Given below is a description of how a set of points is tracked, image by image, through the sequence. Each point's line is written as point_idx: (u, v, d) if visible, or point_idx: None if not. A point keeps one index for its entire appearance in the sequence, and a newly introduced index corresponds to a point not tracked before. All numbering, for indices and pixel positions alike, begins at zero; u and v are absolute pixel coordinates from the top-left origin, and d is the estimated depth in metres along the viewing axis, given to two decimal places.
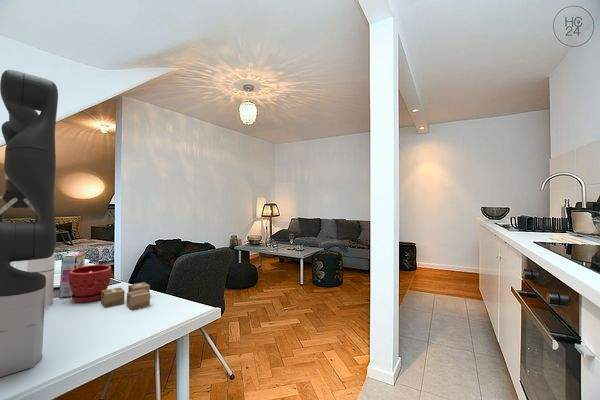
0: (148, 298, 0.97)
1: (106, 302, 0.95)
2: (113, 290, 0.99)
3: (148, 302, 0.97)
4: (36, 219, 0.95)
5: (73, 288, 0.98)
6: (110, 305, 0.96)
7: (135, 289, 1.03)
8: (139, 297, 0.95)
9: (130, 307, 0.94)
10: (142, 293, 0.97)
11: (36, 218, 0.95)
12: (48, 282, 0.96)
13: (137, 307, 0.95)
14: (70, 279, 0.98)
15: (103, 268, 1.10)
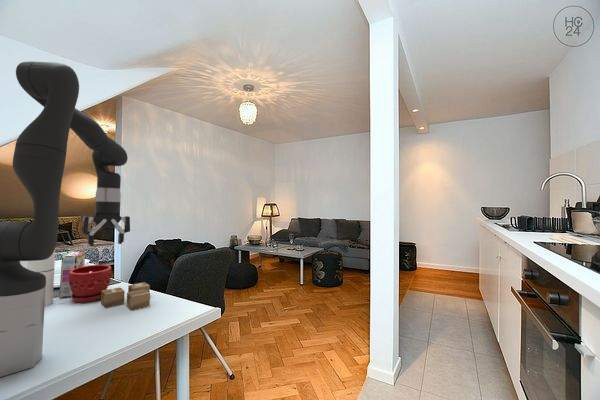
0: (148, 298, 0.97)
1: (106, 302, 0.95)
2: (113, 290, 0.99)
3: (148, 302, 0.97)
4: (120, 238, 0.99)
5: (73, 288, 0.98)
6: (110, 305, 0.96)
7: (135, 289, 1.03)
8: (139, 297, 0.95)
9: (130, 307, 0.94)
10: (142, 293, 0.97)
11: (120, 237, 0.99)
12: (48, 282, 0.96)
13: (137, 307, 0.95)
14: (70, 279, 0.98)
15: (103, 268, 1.10)
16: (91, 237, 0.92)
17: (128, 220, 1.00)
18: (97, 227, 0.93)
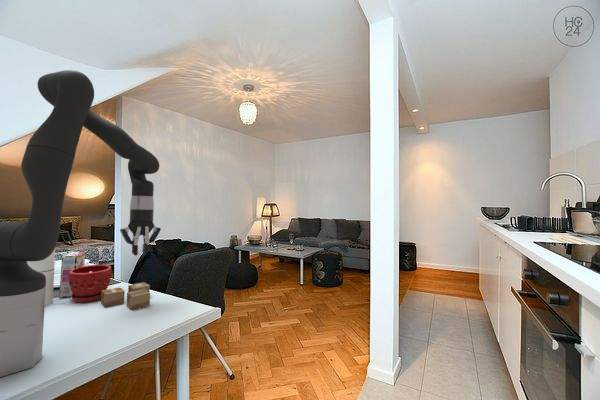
0: (148, 298, 0.97)
1: (106, 302, 0.95)
2: (113, 290, 0.99)
3: (148, 302, 0.97)
4: (145, 249, 0.98)
5: (73, 288, 0.98)
6: (110, 305, 0.96)
7: (135, 289, 1.03)
8: (139, 297, 0.95)
9: (130, 307, 0.94)
10: (142, 293, 0.97)
11: (145, 248, 0.98)
12: (48, 282, 0.96)
13: (137, 307, 0.95)
14: (70, 279, 0.98)
15: (103, 268, 1.10)
16: (135, 247, 0.96)
17: (158, 231, 1.01)
18: (137, 236, 0.96)
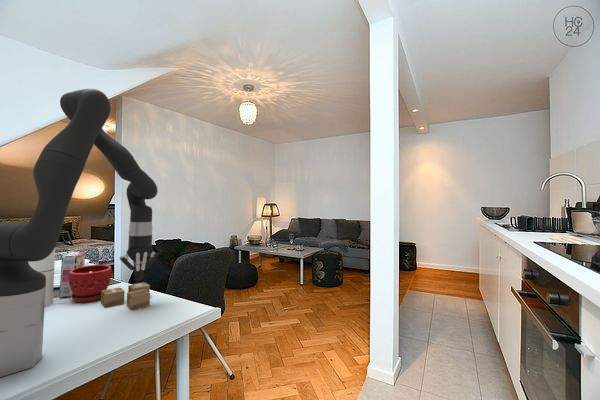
0: (148, 298, 0.97)
1: (106, 302, 0.95)
2: (113, 290, 0.99)
3: (148, 302, 0.97)
4: (141, 275, 0.97)
5: (73, 288, 0.98)
6: (110, 305, 0.96)
7: (135, 289, 1.03)
8: (139, 297, 0.95)
9: (130, 307, 0.94)
10: (142, 293, 0.97)
11: (141, 274, 0.97)
12: (48, 282, 0.96)
13: (137, 307, 0.95)
14: (70, 279, 0.98)
15: (103, 268, 1.10)
16: (137, 272, 0.97)
17: (155, 257, 1.01)
18: (137, 262, 0.96)
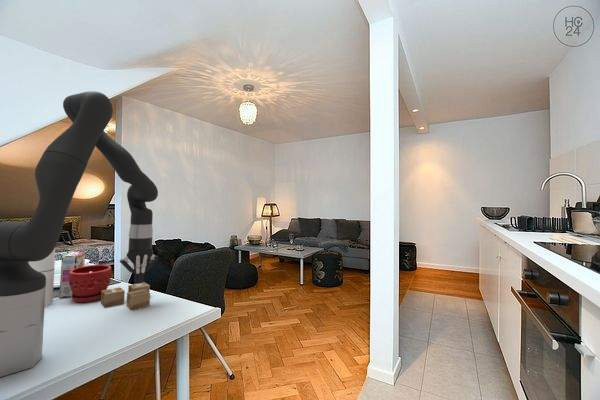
0: (148, 298, 0.97)
1: (106, 302, 0.95)
2: (113, 290, 0.99)
3: (148, 302, 0.97)
4: (141, 278, 0.97)
5: (73, 288, 0.98)
6: (110, 305, 0.96)
7: (135, 289, 1.03)
8: (139, 297, 0.95)
9: (130, 307, 0.94)
10: (142, 293, 0.97)
11: (141, 277, 0.97)
12: (48, 282, 0.96)
13: (137, 307, 0.95)
14: (70, 279, 0.98)
15: (103, 268, 1.10)
16: (137, 275, 0.96)
17: (155, 260, 1.01)
18: (137, 265, 0.96)
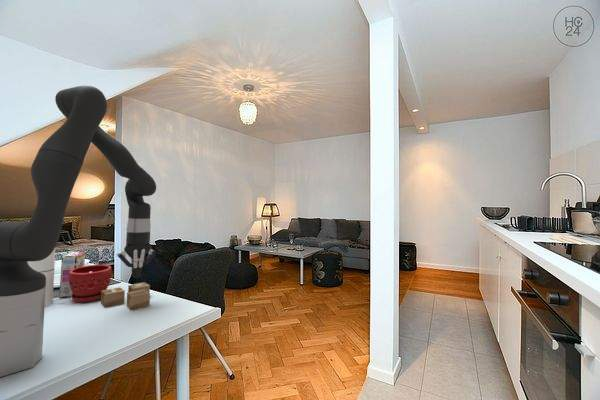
0: (148, 298, 0.97)
1: (106, 302, 0.95)
2: (113, 290, 0.99)
3: (148, 302, 0.97)
4: (138, 272, 0.96)
5: (73, 288, 0.98)
6: (110, 305, 0.96)
7: (135, 289, 1.03)
8: (139, 297, 0.95)
9: (130, 307, 0.94)
10: (142, 293, 0.97)
11: (138, 271, 0.96)
12: (48, 282, 0.96)
13: (137, 307, 0.95)
14: (70, 279, 0.98)
15: (103, 268, 1.10)
16: (135, 270, 0.96)
17: (153, 255, 1.00)
18: (135, 259, 0.95)
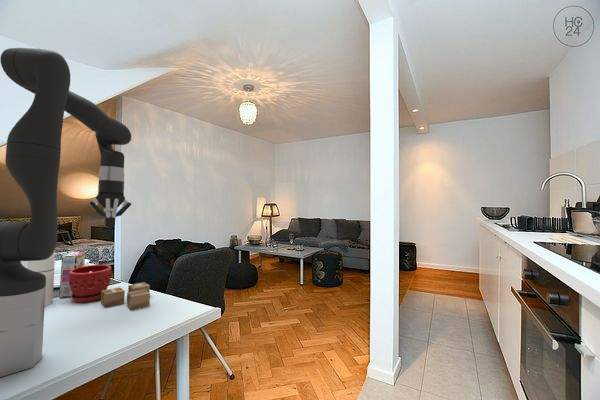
0: (148, 298, 0.97)
1: (106, 302, 0.95)
2: (113, 290, 0.99)
3: (148, 302, 0.97)
4: (111, 222, 0.94)
5: (73, 288, 0.98)
6: (110, 305, 0.96)
7: (135, 289, 1.03)
8: (139, 297, 0.95)
9: (130, 307, 0.94)
10: (141, 293, 0.97)
11: (111, 221, 0.94)
12: (48, 282, 0.96)
13: (137, 307, 0.95)
14: (70, 279, 0.98)
15: (103, 268, 1.10)
16: (108, 219, 0.93)
17: (127, 206, 0.97)
18: (107, 208, 0.92)
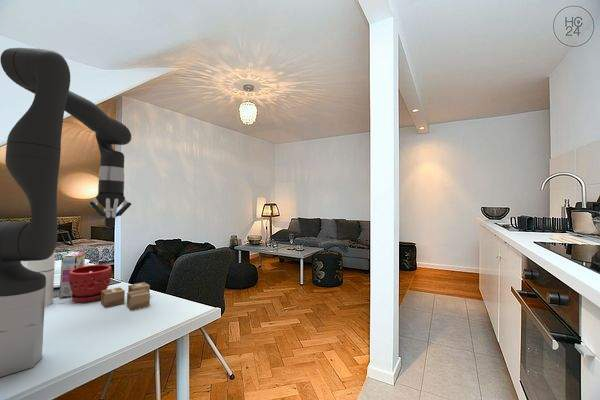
0: (148, 298, 0.97)
1: (106, 302, 0.95)
2: (113, 290, 0.99)
3: (148, 302, 0.97)
4: (111, 222, 0.94)
5: (73, 288, 0.98)
6: (110, 305, 0.96)
7: (135, 289, 1.03)
8: (139, 297, 0.95)
9: (130, 307, 0.94)
10: (142, 293, 0.97)
11: (111, 221, 0.94)
12: (48, 282, 0.96)
13: (137, 307, 0.95)
14: (70, 279, 0.98)
15: (103, 268, 1.10)
16: (108, 219, 0.93)
17: (127, 206, 0.97)
18: (107, 208, 0.92)
